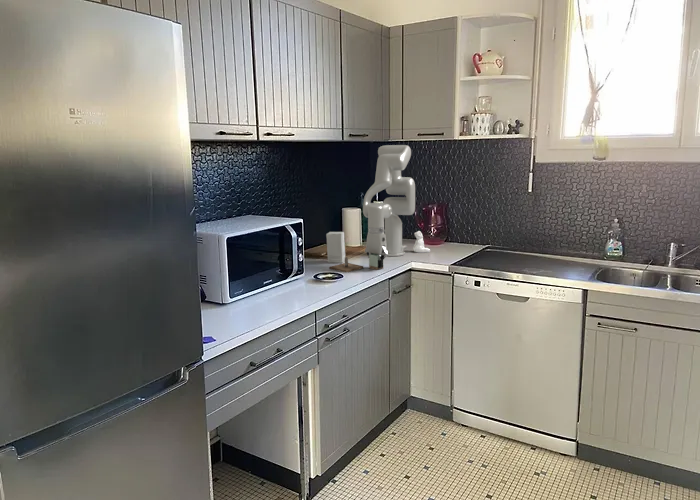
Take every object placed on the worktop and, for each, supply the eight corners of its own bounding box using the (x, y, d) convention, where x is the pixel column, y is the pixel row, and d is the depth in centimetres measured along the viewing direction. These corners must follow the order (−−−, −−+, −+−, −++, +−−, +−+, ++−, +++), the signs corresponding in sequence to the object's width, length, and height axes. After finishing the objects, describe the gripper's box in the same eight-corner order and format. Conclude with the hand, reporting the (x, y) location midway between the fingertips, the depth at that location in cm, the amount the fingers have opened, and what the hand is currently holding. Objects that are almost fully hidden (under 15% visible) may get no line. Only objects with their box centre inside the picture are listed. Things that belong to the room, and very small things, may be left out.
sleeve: (376, 266, 269) (376, 253, 268) (383, 268, 265) (383, 254, 264) (369, 268, 266) (369, 254, 264) (376, 269, 262) (376, 255, 261)
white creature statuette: (431, 252, 300) (431, 231, 298) (417, 254, 297) (417, 232, 295) (422, 249, 309) (423, 229, 307) (409, 251, 306) (409, 230, 304)
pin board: (346, 264, 275) (346, 254, 274) (363, 268, 266) (363, 257, 265) (329, 268, 267) (329, 257, 266) (346, 272, 258) (345, 261, 257)
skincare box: (345, 260, 284) (345, 231, 281) (342, 263, 278) (341, 233, 275) (330, 260, 286) (329, 231, 283) (326, 262, 280) (326, 233, 277)
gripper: (394, 231, 258) (394, 268, 262) (368, 227, 270) (369, 263, 274) (383, 233, 253) (383, 270, 257) (358, 229, 265) (358, 265, 269)
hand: (376, 266), depth 265 cm, fingers closed on sleeve, 5 cm apart
